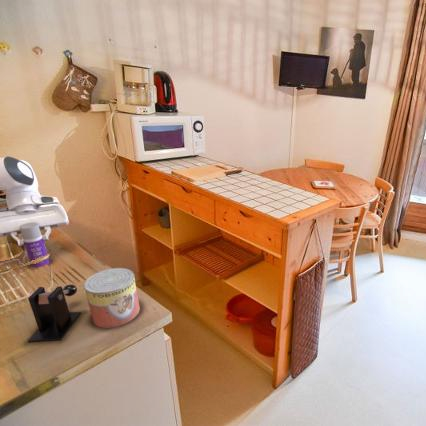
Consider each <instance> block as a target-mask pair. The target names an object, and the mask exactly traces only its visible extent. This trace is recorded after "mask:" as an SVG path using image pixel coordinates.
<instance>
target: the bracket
mask: <svg viewBox="0 0 426 426" xmlns="http://www.w3.org/2000/svg"><path fill="white" fill-rule="evenodd" d="M45 292H46V289H45V287H44V286H39V287H38V288H37V289H36V290H35V291H34V292H33V293H32V294H31V295H29V296H28V297H27V298H28V302H29V305H30V308H31V311H32V314H33V316H34V320H35V322H36V326H37V328H38V329H37V330H36V331H35V332H34V333H33V335H32V336H31V337H30V338H29V339H28V341H27V342H28V343H44V342H45V343H46V342H58V341H62V340H63V338H64V337H65V336H66V334H67V333H68V332H69V331H70V330H71V328H72V327H73V325H74V324H75V323H76V321H77V320H78V318H79V317H80V316H81V315H82V311H72V312H70V309H69V306H68V303H67V300H66V296H65V295H64V292H63V286H61V285H60V286H56V288H54V289H53V291H51V292H52V293H51V294H50V295H49V296H48V297H47V298H48V302H49V304H38V303H39V294H42V293H45Z"/></svg>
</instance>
